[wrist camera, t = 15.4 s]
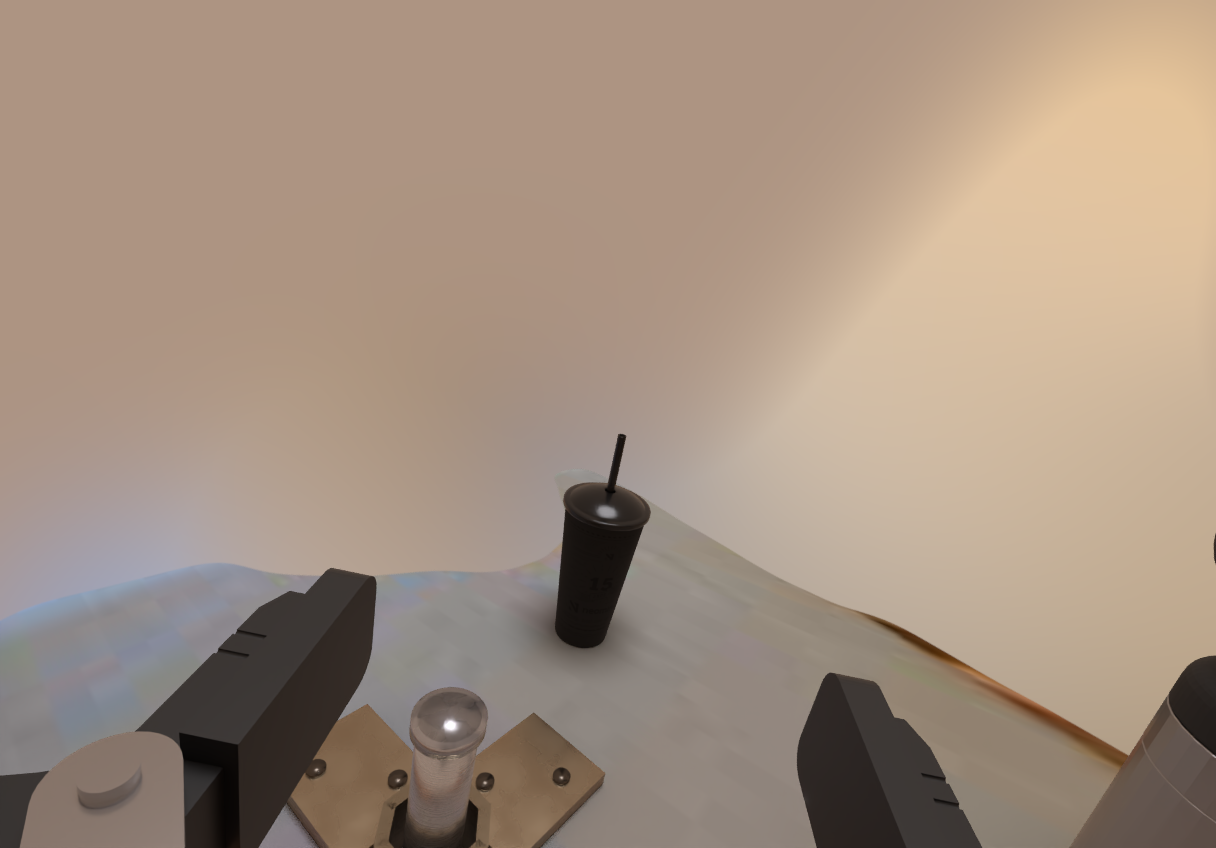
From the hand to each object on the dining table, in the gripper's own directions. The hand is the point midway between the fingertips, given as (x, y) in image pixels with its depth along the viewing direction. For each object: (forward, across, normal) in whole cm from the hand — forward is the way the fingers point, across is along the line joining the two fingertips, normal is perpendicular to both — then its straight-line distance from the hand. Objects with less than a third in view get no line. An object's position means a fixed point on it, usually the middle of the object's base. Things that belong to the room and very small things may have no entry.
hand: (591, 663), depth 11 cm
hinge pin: (+15, +5, +30) cm, 34 cm away
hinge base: (+21, +7, +30) cm, 37 cm away
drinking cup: (+39, -1, +30) cm, 49 cm away
